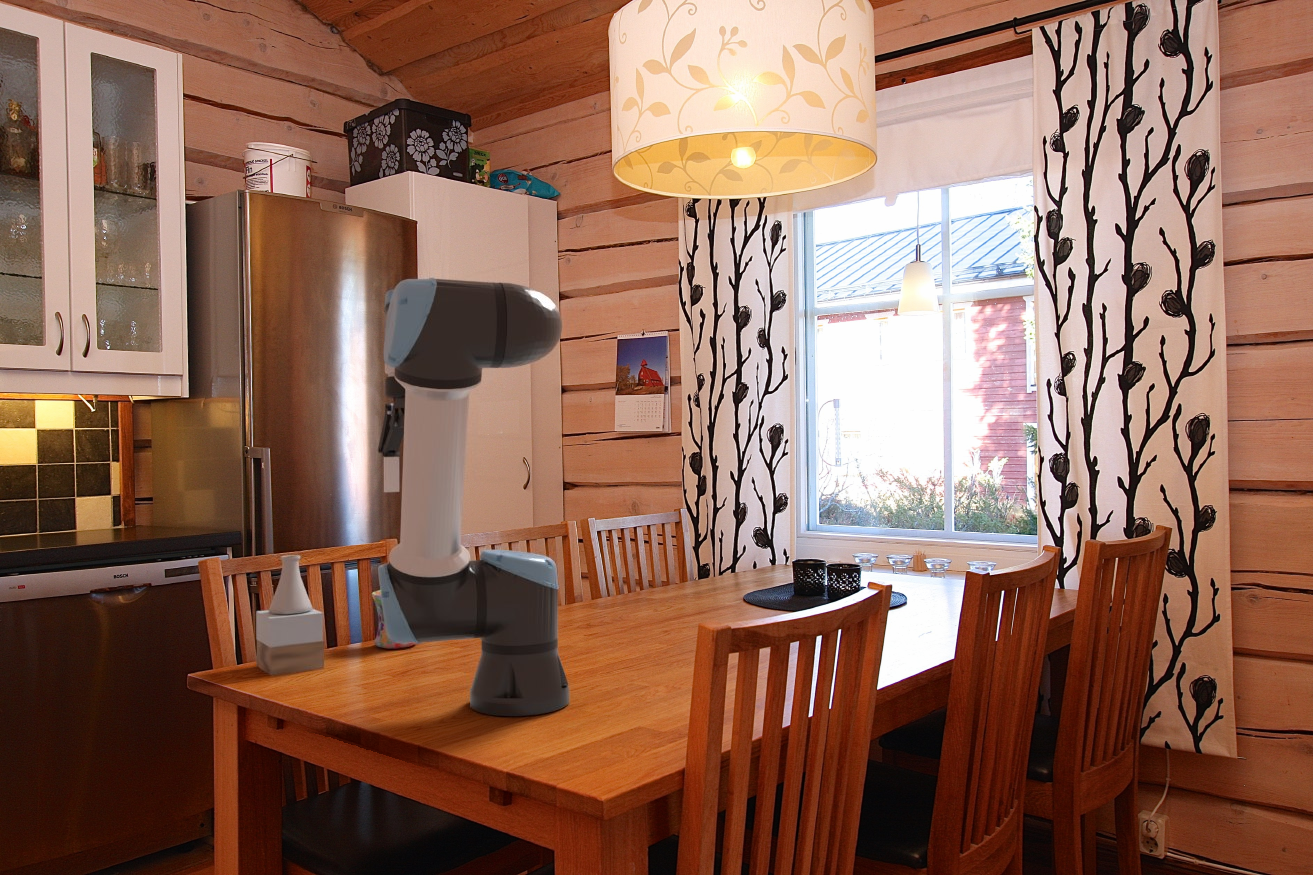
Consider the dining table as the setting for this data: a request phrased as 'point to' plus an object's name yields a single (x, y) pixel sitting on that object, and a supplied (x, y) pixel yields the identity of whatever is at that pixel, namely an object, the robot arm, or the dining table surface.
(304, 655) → the block bottom
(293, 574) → the flask
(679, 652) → the dining table surface
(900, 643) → the dining table surface
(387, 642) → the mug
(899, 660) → the dining table surface
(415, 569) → the robot arm
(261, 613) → the block top
